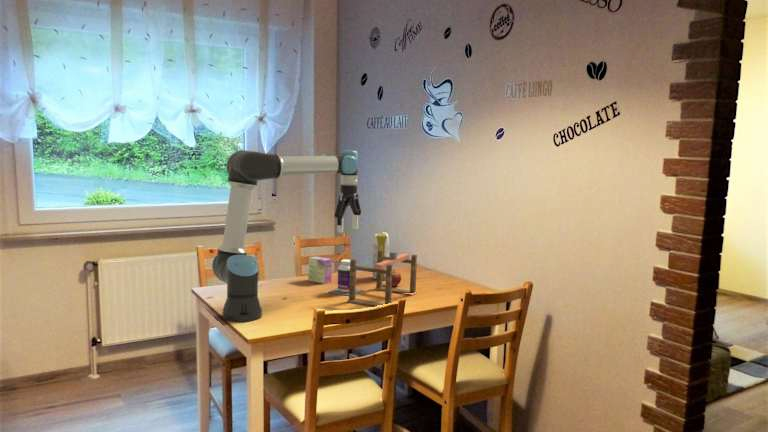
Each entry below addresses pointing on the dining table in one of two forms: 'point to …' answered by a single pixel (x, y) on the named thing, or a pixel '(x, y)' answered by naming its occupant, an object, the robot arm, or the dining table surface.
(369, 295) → the dining table surface
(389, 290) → the frame
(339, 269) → the pill bottle
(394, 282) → the apple
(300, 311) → the dining table surface
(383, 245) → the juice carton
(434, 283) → the dining table surface
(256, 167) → the robot arm
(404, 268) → the dining table surface
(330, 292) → the coaster
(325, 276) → the box
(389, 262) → the bar
